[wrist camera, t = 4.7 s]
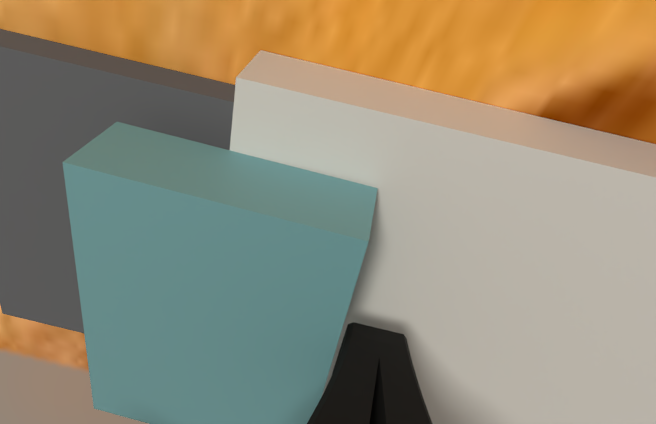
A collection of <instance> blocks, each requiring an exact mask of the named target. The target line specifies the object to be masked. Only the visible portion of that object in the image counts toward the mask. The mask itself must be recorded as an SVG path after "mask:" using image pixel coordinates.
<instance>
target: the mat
mask: <svg viewBox="0 0 656 424" xmlns="http://www.w3.org/2000/svg"><path fill="white" fill-rule="evenodd" d="M234 96H235V85H232V84H228V83H224V82H220V81H216V80H211V79H207V78H203V77H199V76H195V75H191V74H186V73H182V72H178V71H174V70H170V69H165V68H161V67H157V66H153V65H149V64H144V63H140V62H136V61H132V60H128V59H124V58H119V57H115V56H111V55H107V54H103V53H98V52H94V51H90V50H86V49H82V48H78V47H73V46H69V45H65V44H61V43H57V42H52V41H48V40H44V39H40V38H36V37H31V36H27V35H23V34H19V33H15V32H11V31H6V30H2V29H0V305H1V309H2V313H3V314H7V315H11V316H15V317H19V318H24V319H28V320H32V321H36V322H40V323H44V324H48V325H52V326H57V327H61V328H65V329H69V330H73V331H77V332H81V333H84V326H83V319H82V311H81V303H80V295H79V287H78V280H77V272H76V264H75V256H74V248H73V240H72V233H71V225H70V217H69V209H68V201H67V193H66V186H65V178H64V170H63V161H65V160H66V159H67V158H69V157H70V156H71V155H73V154H74V153H75V152H77V151H78V150H80V149H81V148H82V147H84V146H85V145H86V144H88V143H89V142H90V141H92V140H93V139H94V138H96V137H97V136H98V135H100V134H101V133H102V132H104V131H105V130H106V129H108V128H109V127H110V126H112V125H113V124H114V123H116V122H120V123H124V124H128V125H132V126H136V127H140V128H144V129H148V130H152V131H156V132H160V133H164V134H167V135H171V136H175V137H179V138H183V139H187V140H191V141H195V142H199V143H203V144H207V145H211V146H214V147H218V148H222V149H226V150H230V140H231V129H232V118H233V107H234Z"/></svg>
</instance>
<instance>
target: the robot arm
mask: <svg viewBox="0 0 656 424" xmlns="http://www.w3.org/2000/svg"><path fill="white" fill-rule="evenodd" d="M307 424H432V421H431V418H430V415H429V413H428V410H427V407H426V404H425V402H424V399H423V396H422V393H421V389H420V386H419V383H418V380H417V377H416V373H415V370H414V366H413V363H412V359H411V355H410V351H409V347H408V343H407V338H406V337H405V336H404V334H401V333H396V332H392V331H388V330H384V329H380V328H376V327H372V326H367V325H363V324H359V323H355V322H353V323H350V324H348V325H347V328H346V331H345V335H344V338H343V341H342V344H341V347H340V351H339V354H338V357H337V360H336V363H335V366H334V370H333V373H332V376H331V378H330V380H329V383H328V385H327V387H326V389H325V391H324V393H323V395H322V397H321V399H320V401H319V403H318V405H317V406H316V408H315V410H314V412H313V414H312V415H311V417H310V419H309V421H308V422H307Z"/></svg>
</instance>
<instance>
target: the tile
mask: <svg viewBox="0 0 656 424" xmlns="http://www.w3.org/2000/svg"><path fill="white" fill-rule="evenodd" d="M63 170H64V178H65V186H66V193H67V201H68V209H69V217H70V225H71V233H72V240H73V248H74V256H75V264H76V272H77V280H78V287H79V295H80V303H81V311H82V319H83V326H84V334H85V342H86V350H87V358H88V366H89V373H90V380H91V389H92V397H93V404H94V408H95V409H98V410H102V411H106V412H109V413H113V414H116V415H120V416H124V417H128V418H131V419H134V420H139V421H142V422H145V423H149V424H307V422H308V421H309V419H310V417H311V415H312V414H313V412H314V410H315V408H316V406H317V405H318V403H319V401H320V399H321V397H322V394H323V390H324V387H325V384H326V381H327V377H328V374H329V371H330V367H331V364H332V361H333V357H334V354H335V351H336V348H337V344H338V341H339V338H340V334H341V331H342V328H343V325H344V321H345V318H346V315H347V311H348V308H349V305H350V302H351V298H352V295H353V292H354V288H355V285H356V282H357V278H358V275H359V272H360V269H361V265H362V262H363V259H364V255H365V252H366V249H367V246H368V242H369V237H370V231H371V225H372V219H373V213H374V207H375V201H376V195H377V189H378V188H375V187H371V186H367V185H363V184H360V183H356V182H352V181H348V180H344V179H340V178H336V177H332V176H328V175H324V174H320V173H316V172H313V171H309V170H305V169H301V168H297V167H293V166H289V165H285V164H281V163H277V162H273V161H269V160H265V159H262V158H258V157H254V156H250V155H246V154H242V153H238V152H234V151H230V150H226V149H222V148H218V147H214V146H211V145H207V144H203V143H199V142H195V141H191V140H187V139H183V138H179V137H175V136H171V135H167V134H164V133H160V132H156V131H152V130H148V129H144V128H140V127H136V126H132V125H128V124H124V123H120V122H116V123H114V124H113V125H112V126H110V127H109V128H108V129H106V130H105V131H104V132H102V133H101V134H100V135H98V136H97V137H96V138H94V139H93V140H92V141H90V142H89V143H88V144H86V145H85V146H84V147H82V148H81V149H80V150H78V151H77V152H75V153H74V154H73V155H71V156H70V157H69V158H67V159H66V160H65V161H63Z"/></svg>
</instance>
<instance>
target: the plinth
mask: <svg viewBox="0 0 656 424" xmlns="http://www.w3.org/2000/svg"><path fill="white" fill-rule="evenodd" d="M230 151H234V152H238V153H242V154H246V155H250V156H254V157H258V158H262V159H265V160H269V161H273V162H277V163H281V164H285V165H289V166H293V167H297V168H301V169H305V170H309V171H313V172H316V173H320V174H324V175H328V176H332V177H336V178H340V179H344V180H348V181H352V182H356V183H360V184H363V185H367V186H371V187H375V188H378V189H377V195H376V201H375V207H374V213H373V219H372V225H371V231H370V237H369V242H368V246H367V249H366V252H365V255H364V259H363V262H362V265H361V269H360V272H359V275H358V278H357V282H356V285H355V288H354V292H353V295H352V298H351V302H350V305H349V308H348V311H347V315H346V318H345V321H344V325H343V328H342V331H341V334H340V338H339V341H338V344H337V348H336V351H335V354H334V357H333V361H332V364H331V367H330V371H329V374H328V377H327V381H326V384H325V387H324V390H323V393H324V391H325V389H326V387H327V385H328V383H329V380H330V378H331V376H332V373H333V370H334V366H335V363H336V360H337V357H338V354H339V351H340V347H341V344H342V341H343V338H344V335H345V331H346V328H347V325H348V324H350V323H353V322H355V323H359V324H363V325H367V326H372V327H376V328H380V329H384V330H388V331H392V332H396V333H401V334H404V336H405V337H406V338H407V343H408V347H409V351H410V355H411V359H412V363H413V366H414V370H415V373H416V377H417V380H418V383H419V386H420V389H421V393H422V396H423V399H424V402H425V404H426V407H427V410H428V413H429V415H430V418H431V421H432V424H656V144H652V143H648V142H644V141H639V140H635V139H631V138H627V137H623V136H618V135H614V134H610V133H606V132H602V131H597V130H593V129H589V128H585V127H581V126H577V125H572V124H568V123H564V122H560V121H556V120H551V119H547V118H543V117H539V116H535V115H530V114H526V113H522V112H518V111H514V110H509V109H505V108H501V107H497V106H493V105H488V104H484V103H480V102H476V101H472V100H467V99H463V98H459V97H455V96H451V95H447V94H442V93H438V92H434V91H430V90H426V89H421V88H417V87H413V86H409V85H405V84H400V83H396V82H392V81H388V80H384V79H379V78H375V77H371V76H367V75H363V74H358V73H354V72H350V71H346V70H342V69H337V68H333V67H329V66H325V65H321V64H317V63H312V62H308V61H304V60H300V59H296V58H291V57H287V56H283V55H279V54H275V53H270V52H266V51H262V50H260V51H259V53H258V54H257V55H256V56H255V57H254V58H253V59H252V60H251V61H250V63H249V64H248V65H247V66H246V67H245V68H244V69H243V70H242V71H241V72H240V74H239V75H238V76H237V77H236V84H235V96H234V107H233V118H232V129H231V140H230ZM322 395H323V394H322Z"/></svg>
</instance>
